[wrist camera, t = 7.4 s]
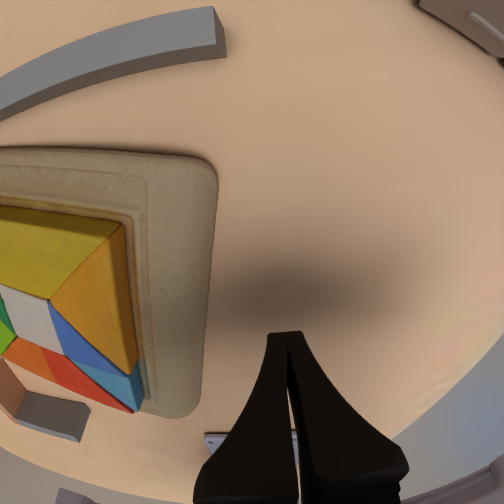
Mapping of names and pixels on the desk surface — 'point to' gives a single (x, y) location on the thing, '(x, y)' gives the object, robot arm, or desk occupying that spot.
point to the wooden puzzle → (107, 272)
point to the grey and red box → (473, 20)
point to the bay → (76, 77)
